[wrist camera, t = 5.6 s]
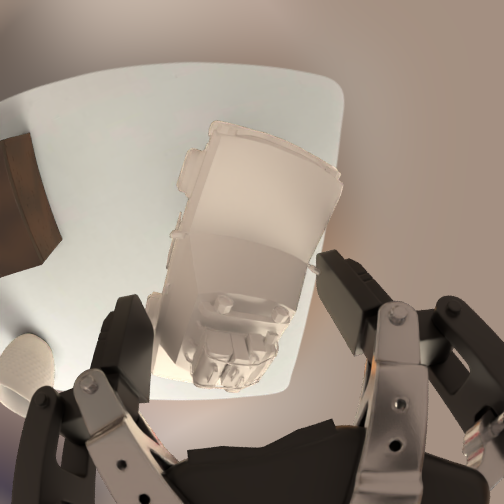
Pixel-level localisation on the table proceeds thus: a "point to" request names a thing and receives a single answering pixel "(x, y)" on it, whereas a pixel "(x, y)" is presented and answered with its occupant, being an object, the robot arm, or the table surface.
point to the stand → (23, 209)
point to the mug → (24, 371)
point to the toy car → (238, 256)
